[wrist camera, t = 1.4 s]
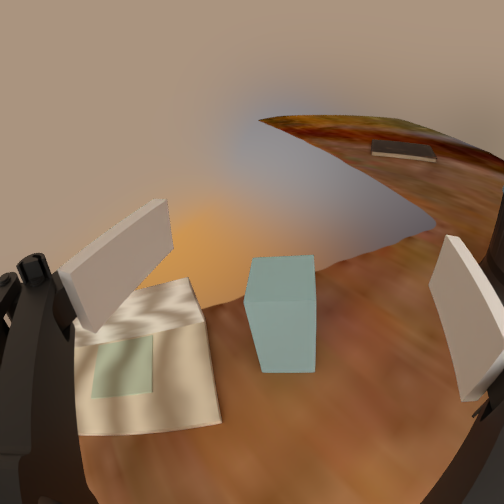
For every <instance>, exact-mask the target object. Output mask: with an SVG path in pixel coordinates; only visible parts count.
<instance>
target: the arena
mask: <svg viewBox="0 0 504 504" xmlns="http://www.w3.org/2000/svg"><path fill="white" fill-rule="evenodd" d="M73 324H74V326H75V348H74V383H75V405H76V418H77V428H78V435H85V436H110V435H134V434H148V433H159V432H168V431H176V430H184V429H191V428H197V427H203V426H209V425H215V424H220V423H222V419H221V414H220V408H219V403H218V397H217V391H216V385H215V380H214V373H213V367H212V361H211V354H210V348H209V341H208V334H207V327H206V319H205V316H204V314H203V312H202V310H201V308H200V305H199V303H198V300H197V298H196V295H195V293H194V290H193V288H192V285H191V283H190V280H189V278H188V277H187V278H182V279H179V280H175V281H170V282H167V283H163V284H159V285H155V286H151V287H147V288H143V289H139V290H135V291H133V292H132V293H131V294H130V295H129V297H128V298H127V299H126V300H125V301H124V302H123V303H122V304H121V305H120V306H119V308H118V309H117V310H116V311H115V312H114V313H113V314H112V316H111V317H110V318H109V319H108V320H107V321H106V322H105V324H104V325H103V326H102V327H101V328H100V329H99V330H98V332H97V333H96V334H94V333H92V332H90V331H88V330H85V329H83V328H82V326H81V324H80V322H79V320H78V318H77V317H76V318H75V320H74V321H73Z"/></svg>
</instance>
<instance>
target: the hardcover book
mask: <svg viewBox="0 0 504 504" xmlns="http://www.w3.org/2000/svg"><path fill="white" fill-rule="evenodd" d="M371 151H372V155H376V156H387V157H397V158H406V159H414V160H422V161H429V162H436V159H437V157H436V155H435V154H434V152H433V150H432V148H431V147H430V146H429V145H422V144H414V143H405V142H396V141H385V140H373V139H372V146H371Z"/></svg>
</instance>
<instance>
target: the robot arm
mask: <svg viewBox="0 0 504 504" xmlns="http://www.w3.org/2000/svg"><path fill="white" fill-rule="evenodd" d="M502 191H503V197H502V201H501V206H500V210H499V214H498V218H497V221H496V225H495V229H494V232H493V235H492V238H491V242H490V245H489V248H488V251H487V254H486V256H485V257H484V258H483V260H482V261H481V262H480V263H479V265H478V263H477V262H476V260H475V259H474V257H473V256H472V254H471V253H470V252H469V250H468V249H467V247H466V246H465V244H464V243H463V242H462V240H461V239H460V238H459V237H456V236H451V235H446V236H445V239H444V242H443V246H442V249H441V252H440V255H439V258H438V261H437V263H436V266H435V269H434V272H433V275H432V277H431V280H430V282H429V288H430V291H431V293H432V296H433V299H434V302H435V305H436V307H437V310H438V313H439V316H440V320H441V323H442V326H443V329H444V332H445V336H446V339H447V343H448V346H449V350H450V354H451V357H452V361H453V365H454V370H455V374H456V378H457V383H458V388H459V393H460V398H461V402H467V401H477V400H478V399H479V398H480V397H481V396H482V395H483V394H484V393H485V392H486V391H487V392H488V396H489V398H488V399H487V400H486V402H485V403H484V404H483V405H482V406H481V407H480V408H479V409H478V410H477V411H476V412H475V413H474V414H473V415H472V417H473V418H474V417H475V416H476V415H477V414H478V416H477V418H476V420H475V422H474V424H473V426H472V428H471V430H470V432H469V433H468V435H467V437H466V439H465V440H464V442H463V444H462V446H461V447H460V449H459V450H458V452H457V454H456V455H455V457H454V458H453V460H452V462H451V463H450V465H449V466H448V468H447V469H446V470H445V472H444V473H443V475H442V476H441V478H440V479H439V480H438V482H437V483H436V484H435V486H434V487H433V488H432V490H431V491H430V492H429V493H428V495H427V496H426V497H425V498H424V500H423V501H422V502H421V503H420V504H504V186H503V190H502ZM173 249H174V247H173V241H172V234H171V227H170V220H169V211H168V204H167V199H153V200H151V201H150V202H149V203H147V204H145V205H144V206H142V207H141V208H139V209H138V210H136V211H135V212H134V213H132V214H131V215H129V216H128V217H126V218H125V219H123V220H122V221H120V222H119V223H118V224H116V225H115V226H113V227H112V228H111V229H109V230H108V231H106V232H105V233H104V234H102V235H101V236H100V237H98V238H97V239H96V240H94V241H93V242H92V243H90V244H89V245H88V246H86V247H85V248H84V249H82V250H81V251H80V252H79V253H77V254H76V255H75V256H74V257H72V258H71V259H70V260H68V261H67V262H66V263H65V264H63V265H62V266H61V267H60V268H59V269H57V271H56V272H54V273H53V274H51V272H50V269H49V267H48V264H47V261H46V258H45V256H44V254H42V253H34V254H31V255H29V256H27V257H25V258H24V259H22V260H21V261H20V262H19V263H18V265H17V266H16V267H17V269H18V271H19V274H20V276H21V279H22V281H23V283H20V281H19V278H18V276H17V274H16V273H15V272H10V273H5V274H3V275H2V276H1V277H0V504H98V502H97V500H96V498H95V496H94V495H93V494H92V492H91V491H90V490H89V488H88V486H87V483H86V479H85V475H84V469H83V464H82V458H81V451H80V445H79V437H78V428H77V418H76V405H75V383H74V348H75V326H74V324H73V321H74V320H75V318H76V317H77V318H78V320H79V322H80V324H81V326H82V328H83V329H85V330H88V331H90V332H92V333H94V334H96V333H97V332H98V330H99V329H100V328H101V327H102V326H103V325H104V324H105V322H106V321H107V320H108V319H109V318H110V317H111V316H112V314H113V313H114V312H115V311H116V310H117V309H118V308H119V306H120V305H121V304H122V303H123V302H124V301H125V300H126V299H127V298H128V297H129V295H130V294H131V293H132V292H133V291H134V290H135V289H136V288H137V287H138V286H139V284H140V283H141V282H142V281H143V280H144V279H145V278H146V277H147V276H148V275H149V274H150V273H151V272H152V271H153V270H154V268H155V267H156V266H157V265H158V264H159V263H160V262H161V261H162V260H163V259H164V258H165V257H166V256H167V255H168V254H169V253H170V252H171V251H172V250H173ZM5 314H7V315H8V317H9V319H10V321H11V322H12V323H11V326H10V328H9V327H8V325H7V324H6V322H5V320H4V319H3V317H4V316H5Z"/></svg>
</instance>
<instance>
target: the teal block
mask: <svg viewBox="0 0 504 504" xmlns="http://www.w3.org/2000/svg"><path fill="white" fill-rule="evenodd" d="M244 306H245V310H246V314H247V317H248V321H249V325H250V329H251V332H252V336H253V340H254V344H255V347H256V351H257V355H258V358H259V362H260V366H261V369H262V372H267V373H304V372H315V357H316V285H315V267H314V255H301V256H281V257H258V258H253V259H252V264H251V269H250V273H249V278H248V283H247V287H246V292H245V297H244Z"/></svg>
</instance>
